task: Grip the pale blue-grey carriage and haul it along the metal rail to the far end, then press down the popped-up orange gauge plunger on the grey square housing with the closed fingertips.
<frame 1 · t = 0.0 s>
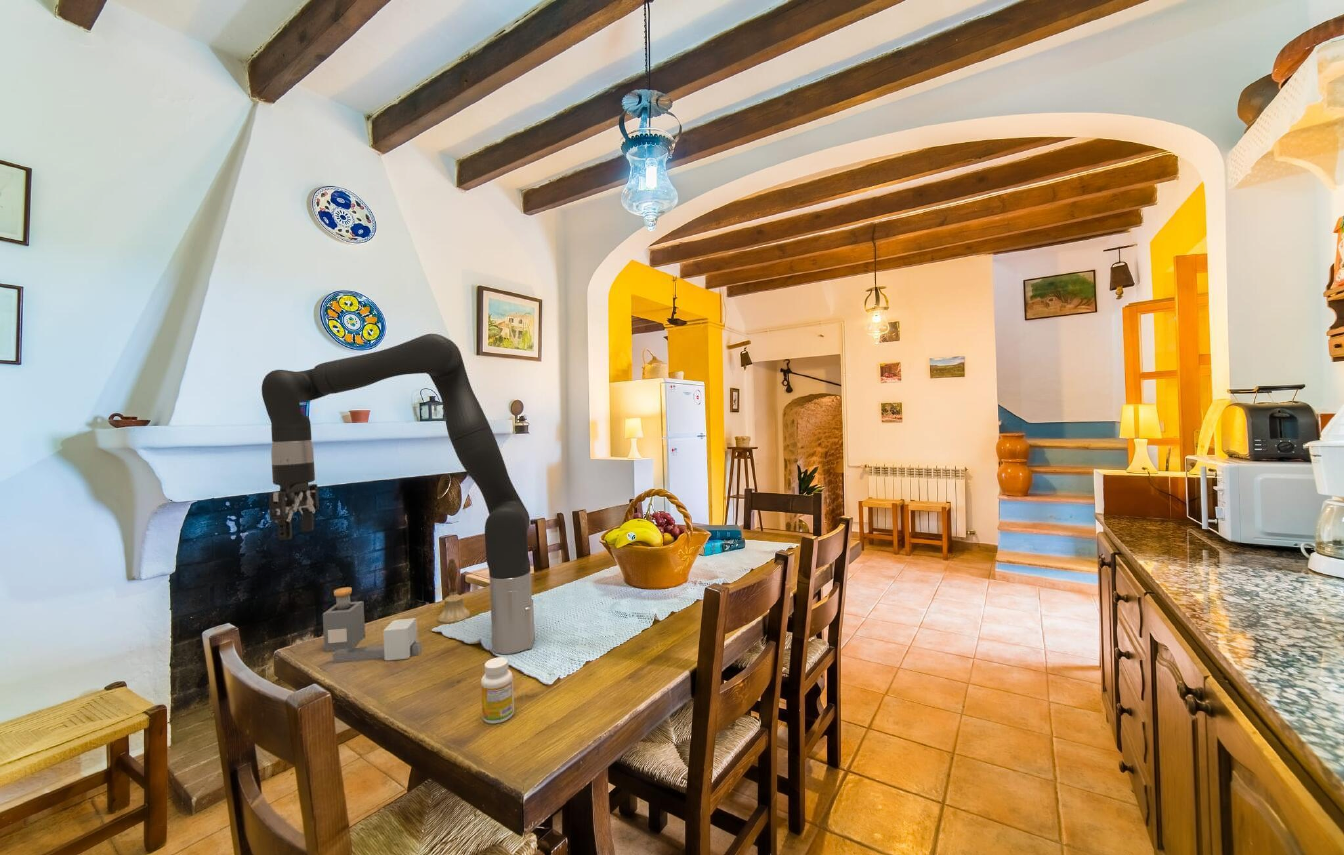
hand: (297, 534, 114), 29 cm above the table, fingers open, 8 cm apart
gauge plunger: (343, 599, 125), point 11 cm above the table, slide at 0.0 cm
supplement bottle: (498, 716, 93), on the table
carriage: (400, 638, 119), point 4 cm above the table, slide at 0.0 cm
rail: (378, 656, 118), on the table
grey square housing: (345, 643, 125), on the table
hand bell: (454, 617, 140), on the table
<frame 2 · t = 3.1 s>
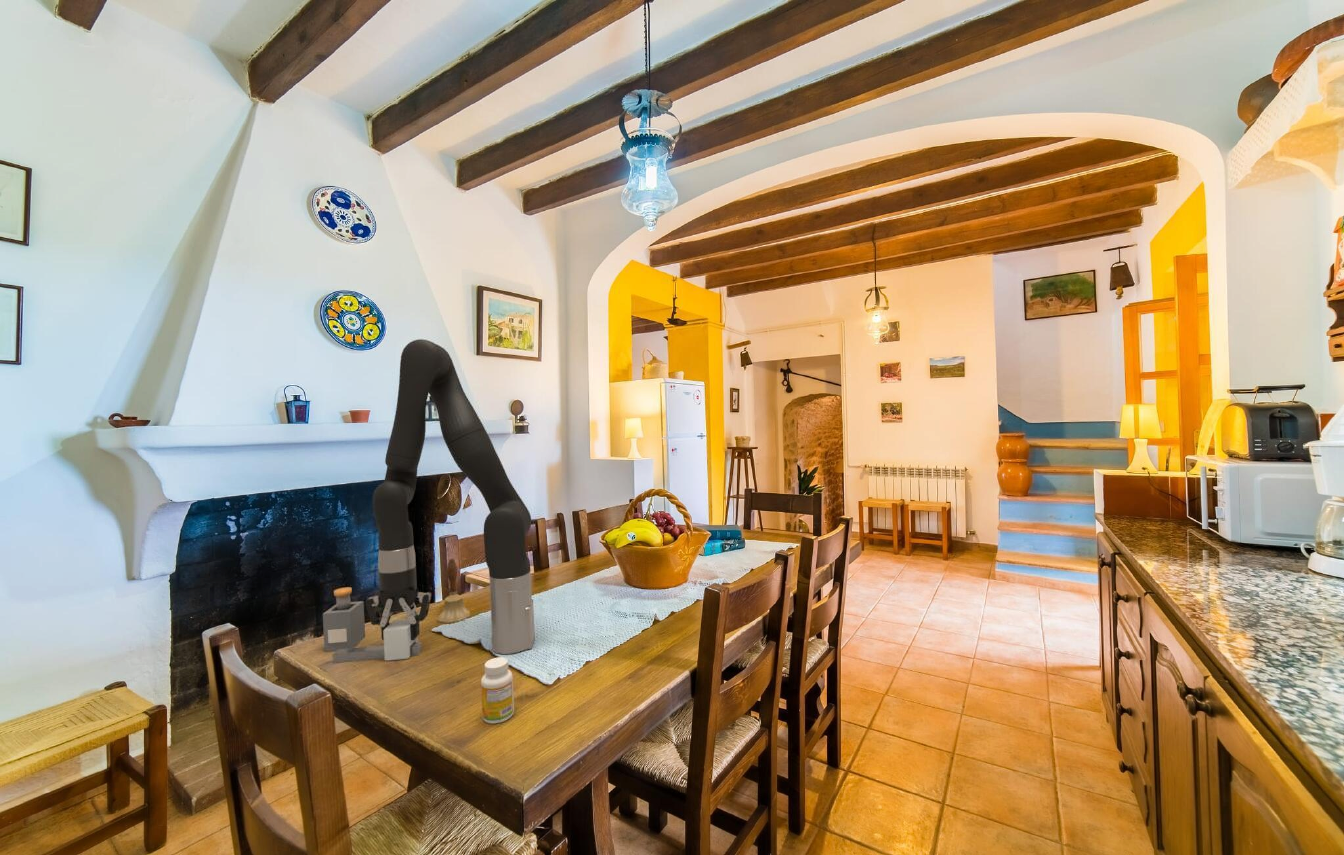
hand: (400, 639, 119), 3 cm above the table, fingers closed on carriage, 5 cm apart
carriage: (401, 638, 119), point 4 cm above the table, slide at 0.0 cm, touching gripper
everything else where it was.
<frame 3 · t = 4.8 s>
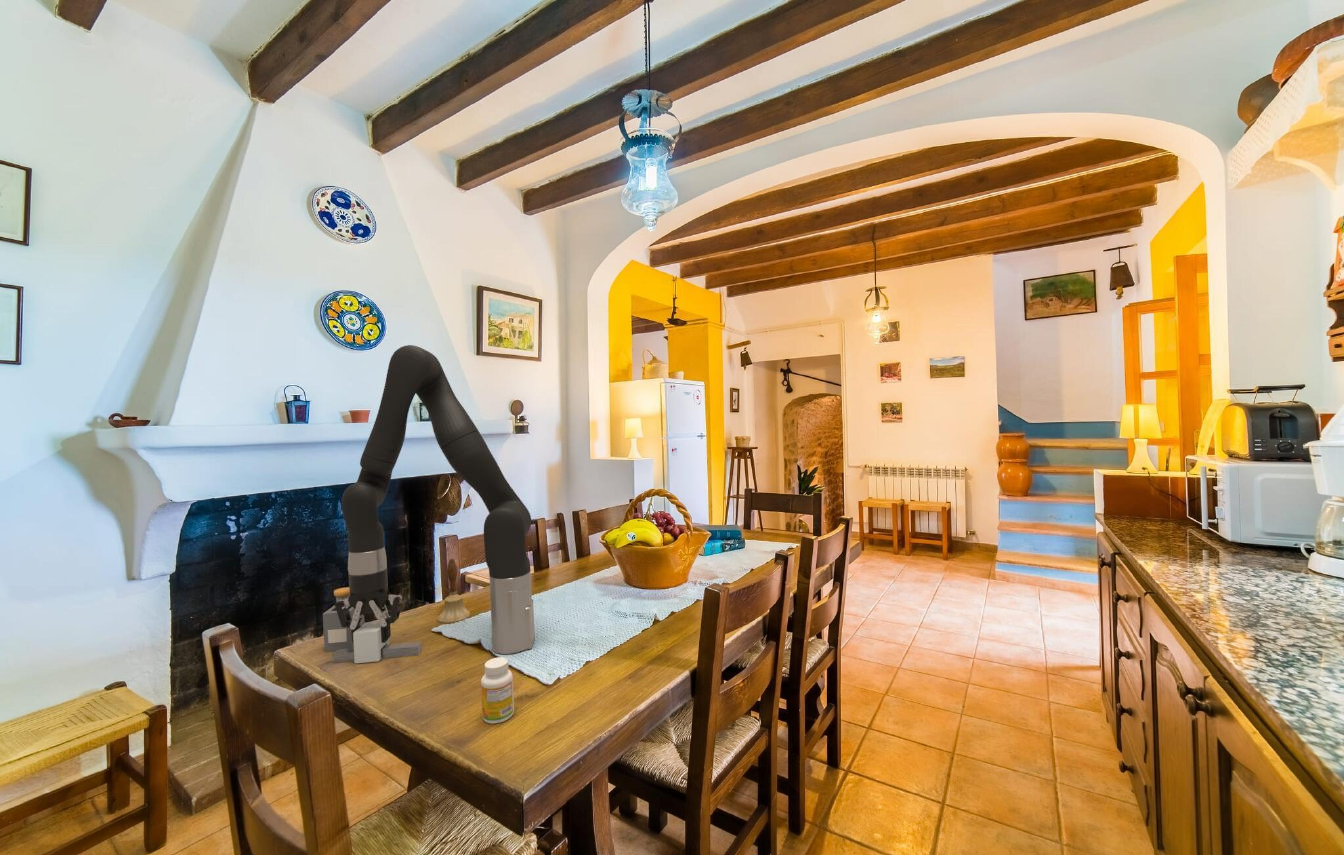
hand: (371, 642, 118), 3 cm above the table, fingers closed on carriage, 5 cm apart
carriage: (371, 641, 118), point 4 cm above the table, slide at 6.3 cm, touching gripper
everything else where it was.
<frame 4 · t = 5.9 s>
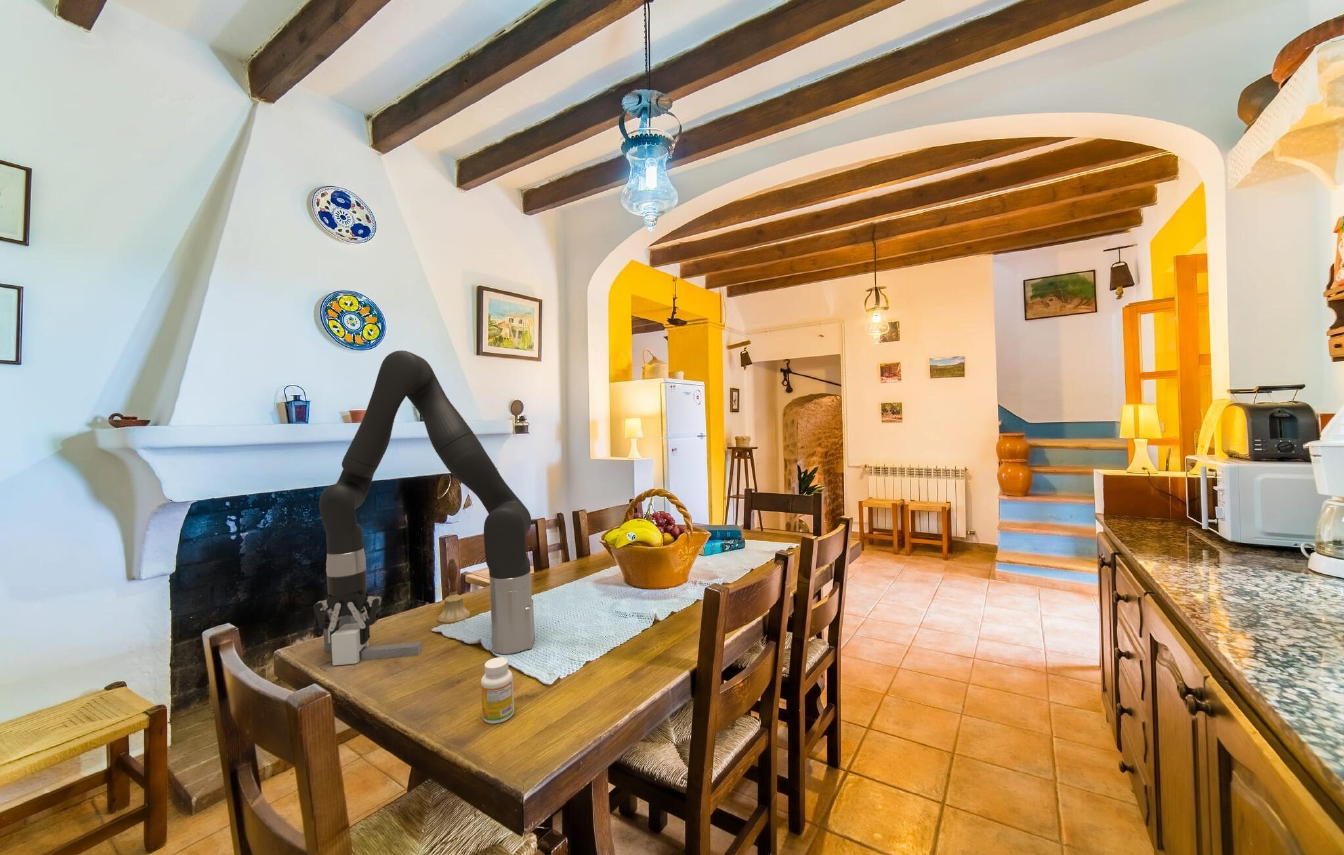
hand: (350, 644, 117), 3 cm above the table, fingers closed on carriage, 5 cm apart
carriage: (350, 643, 117), point 4 cm above the table, slide at 10.7 cm, touching gripper
everything else where it was.
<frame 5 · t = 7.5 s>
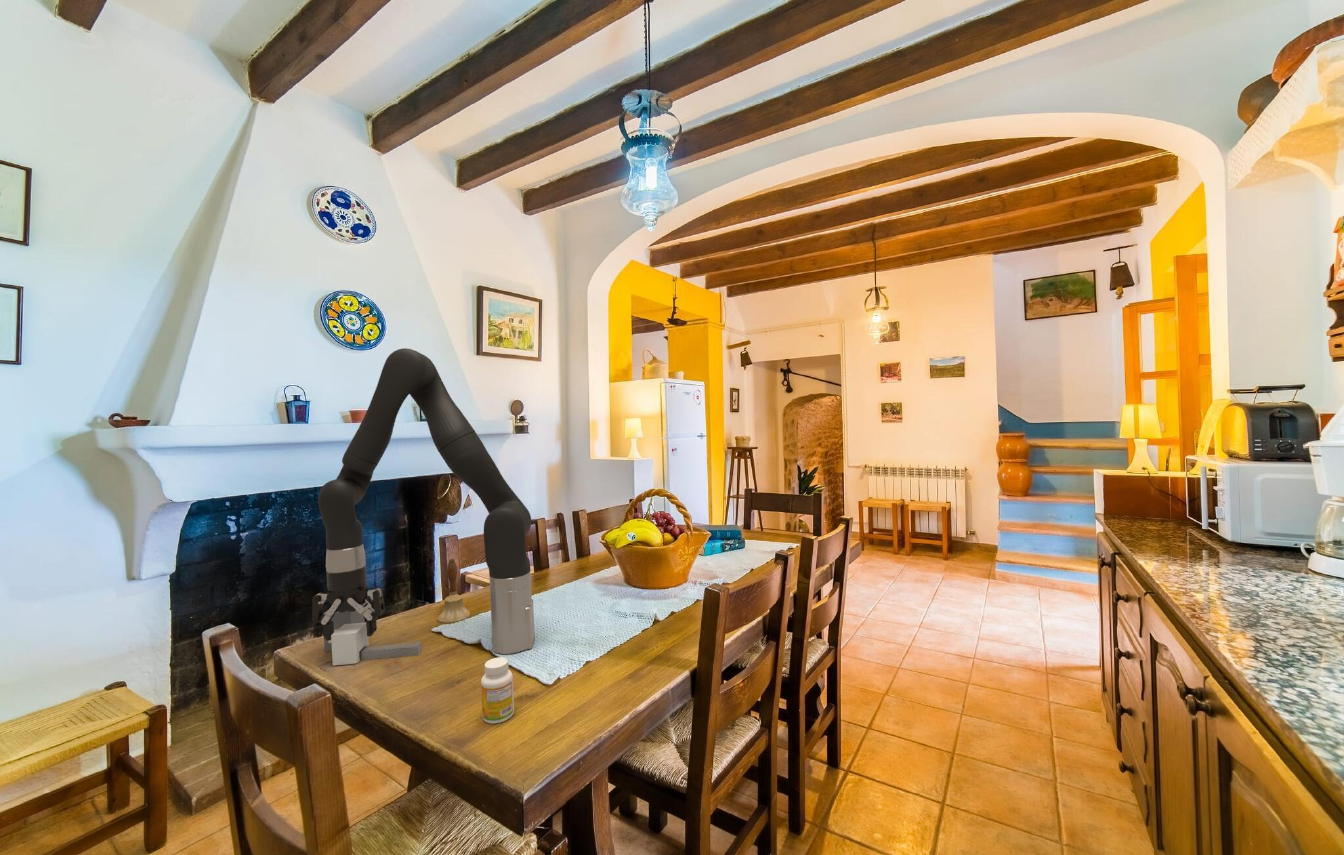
hand: (350, 637, 117), 5 cm above the table, fingers open, 8 cm apart
carriage: (350, 643, 117), point 4 cm above the table, slide at 10.7 cm
everything else where it was.
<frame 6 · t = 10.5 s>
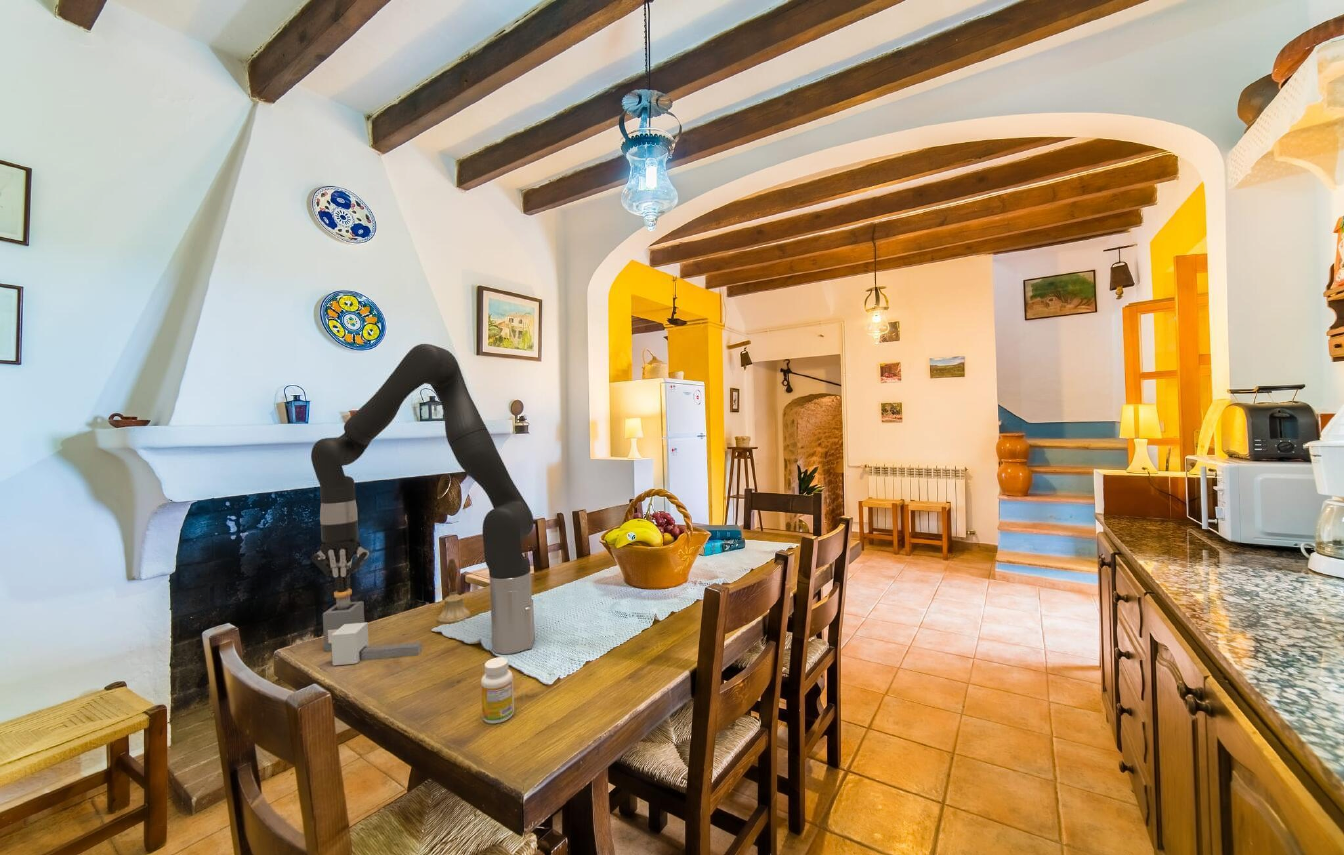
hand: (342, 590, 125), 13 cm above the table, fingers closed
gauge plunger: (343, 601, 125), point 10 cm above the table, slide at 0.3 cm, touching gripper
everything else where it was.
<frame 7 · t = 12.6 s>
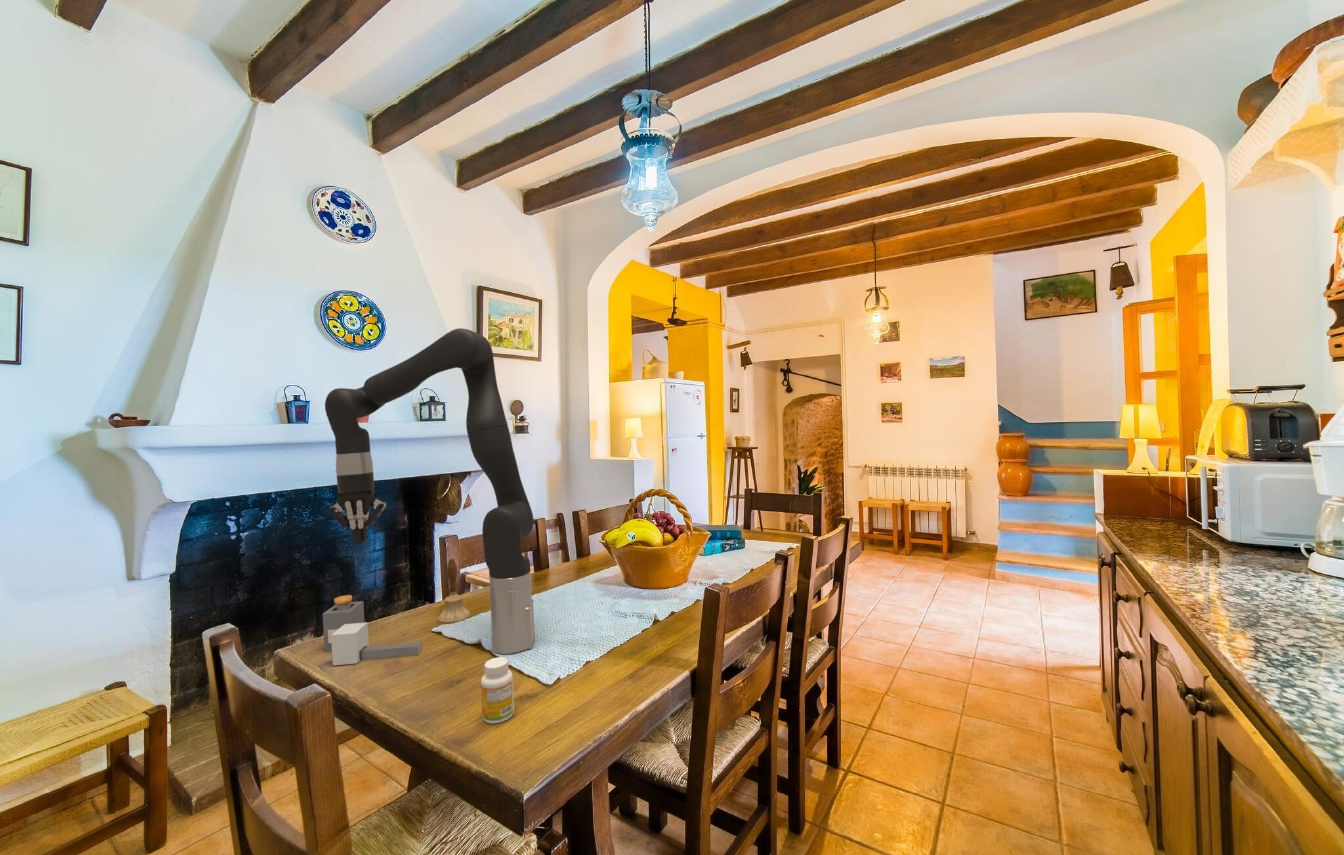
hand: (360, 543, 124), 25 cm above the table, fingers closed
gauge plunger: (343, 607, 125), point 9 cm above the table, slide at 1.9 cm
everything else where it was.
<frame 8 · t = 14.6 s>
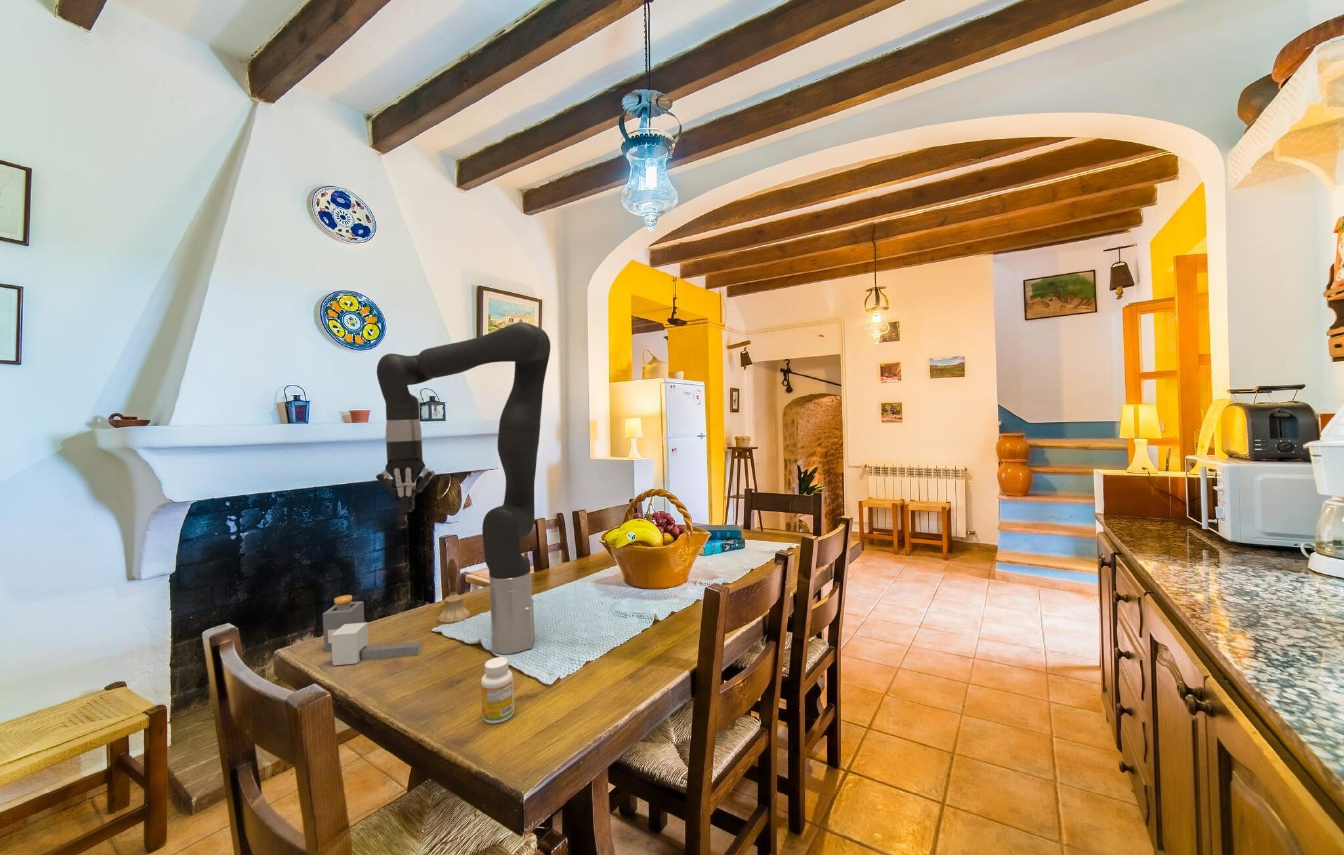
hand: (407, 511, 123), 32 cm above the table, fingers closed
nothing on the table moved.
at the end: carriage slide at 10.7 cm; gauge plunger slide at 1.9 cm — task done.
